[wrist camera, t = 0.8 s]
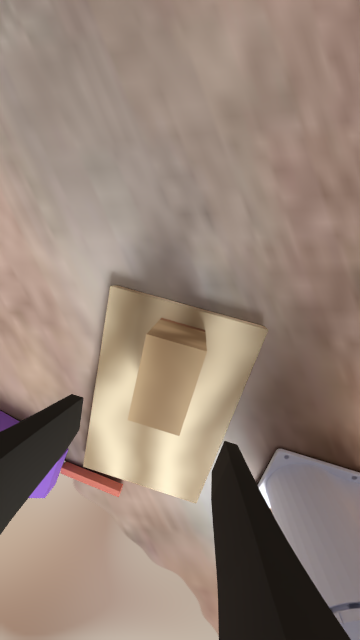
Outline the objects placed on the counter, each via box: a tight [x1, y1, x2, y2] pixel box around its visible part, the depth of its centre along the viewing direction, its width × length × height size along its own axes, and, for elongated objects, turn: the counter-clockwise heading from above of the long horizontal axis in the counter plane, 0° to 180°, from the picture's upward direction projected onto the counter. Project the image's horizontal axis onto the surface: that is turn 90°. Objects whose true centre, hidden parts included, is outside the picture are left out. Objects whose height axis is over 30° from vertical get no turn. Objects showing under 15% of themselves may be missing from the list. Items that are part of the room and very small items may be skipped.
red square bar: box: [60, 461, 123, 497], centre depth 23 cm, size 9×1×1 cm, turn 76°
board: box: [83, 285, 268, 503], centre depth 19 cm, size 14×22×1 cm, turn 166°
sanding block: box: [128, 318, 207, 436], centre depth 14 cm, size 4×7×4 cm, turn 166°
